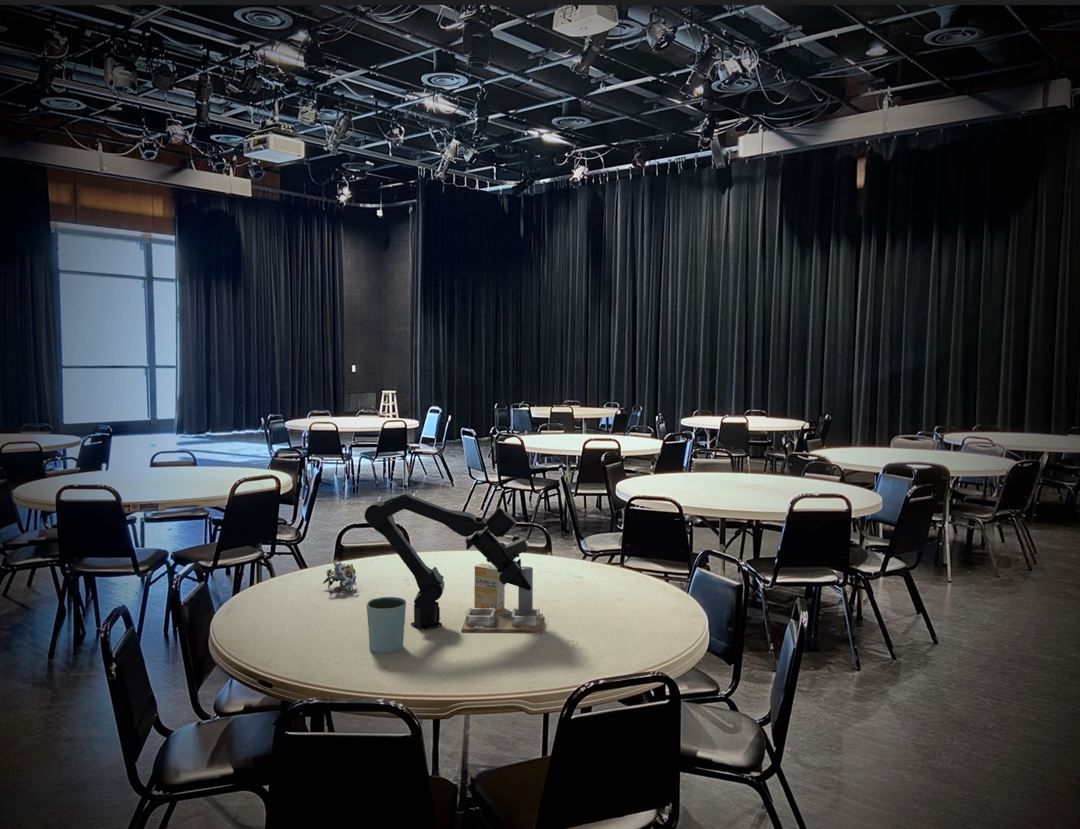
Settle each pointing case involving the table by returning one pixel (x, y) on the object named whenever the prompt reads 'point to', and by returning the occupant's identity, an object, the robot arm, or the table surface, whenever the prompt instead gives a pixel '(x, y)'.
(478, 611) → the socket board
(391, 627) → the light blue cup
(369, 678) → the table surface
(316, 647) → the table surface
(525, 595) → the plug
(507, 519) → the robot arm
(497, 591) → the supplement box
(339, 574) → the passion flower
